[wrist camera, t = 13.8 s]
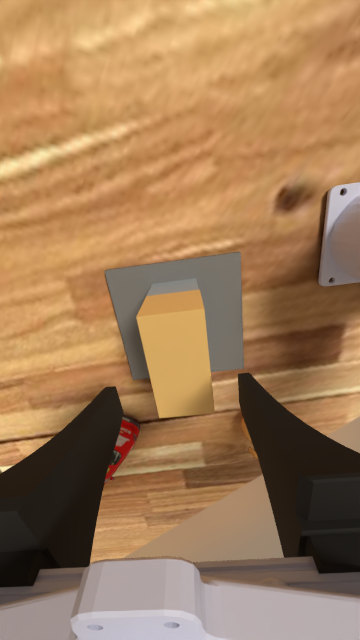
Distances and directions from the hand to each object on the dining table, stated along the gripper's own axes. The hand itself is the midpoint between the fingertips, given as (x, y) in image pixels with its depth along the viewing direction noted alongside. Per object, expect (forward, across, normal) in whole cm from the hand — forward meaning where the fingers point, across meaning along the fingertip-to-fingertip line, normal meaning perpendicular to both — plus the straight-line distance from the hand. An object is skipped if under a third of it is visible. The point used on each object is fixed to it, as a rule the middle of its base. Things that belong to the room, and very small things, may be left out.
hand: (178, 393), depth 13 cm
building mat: (+10, 0, 0) cm, 10 cm away
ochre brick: (+6, 0, 0) cm, 6 cm away
